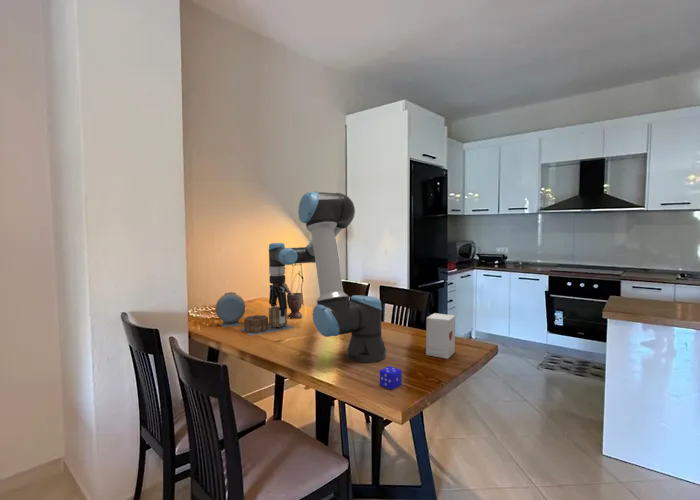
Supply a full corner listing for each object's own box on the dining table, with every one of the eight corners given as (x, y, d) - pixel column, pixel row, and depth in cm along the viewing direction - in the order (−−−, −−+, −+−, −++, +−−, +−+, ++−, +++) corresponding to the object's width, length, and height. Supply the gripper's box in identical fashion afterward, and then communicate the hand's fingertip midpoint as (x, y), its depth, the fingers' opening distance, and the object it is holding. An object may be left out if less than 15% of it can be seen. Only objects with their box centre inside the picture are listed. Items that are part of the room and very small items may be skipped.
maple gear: (290, 325, 183) (290, 308, 182) (273, 327, 178) (273, 311, 178) (282, 321, 190) (282, 305, 190) (266, 324, 185) (266, 307, 185)
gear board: (294, 331, 182) (294, 317, 181) (250, 339, 169) (250, 324, 169) (282, 324, 193) (282, 312, 193) (240, 331, 181) (239, 318, 180)
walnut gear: (271, 330, 177) (271, 318, 176) (249, 334, 171) (249, 321, 170) (262, 326, 185) (262, 314, 185) (241, 329, 179) (241, 317, 179)
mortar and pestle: (289, 321, 201) (289, 283, 200) (279, 318, 207) (278, 282, 206) (305, 317, 210) (305, 281, 209) (295, 314, 216) (295, 280, 214)
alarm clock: (245, 323, 196) (244, 290, 195) (246, 328, 187) (245, 293, 186) (216, 326, 192) (215, 291, 191) (215, 331, 182) (214, 295, 181)
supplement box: (448, 359, 141) (448, 320, 141) (425, 355, 146) (425, 317, 145) (455, 352, 149) (455, 315, 148) (433, 348, 154) (433, 312, 153)
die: (392, 390, 115) (392, 374, 115) (379, 385, 119) (379, 370, 118) (401, 385, 119) (401, 369, 119) (388, 380, 122) (388, 365, 122)
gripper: (294, 276, 176) (294, 324, 177) (275, 272, 194) (276, 315, 195) (279, 277, 172) (280, 326, 173) (261, 273, 189) (262, 317, 191)
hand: (278, 320), depth 184 cm, fingers closed on maple gear, 9 cm apart
